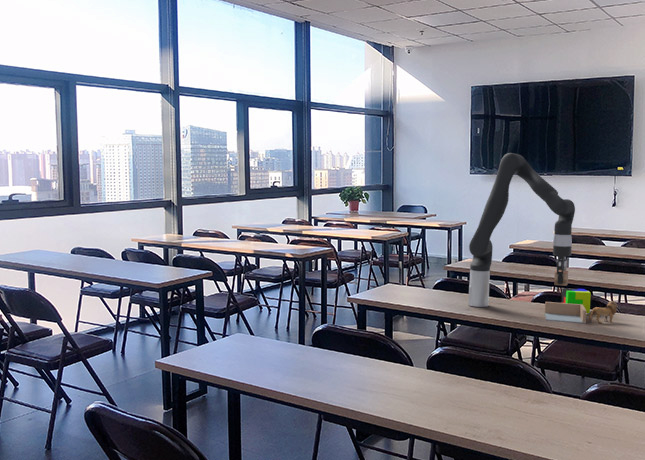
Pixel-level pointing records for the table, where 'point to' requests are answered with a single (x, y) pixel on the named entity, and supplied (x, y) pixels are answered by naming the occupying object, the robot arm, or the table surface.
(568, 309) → the arena
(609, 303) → the lion figurine
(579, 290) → the puzzle toy
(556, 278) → the block
